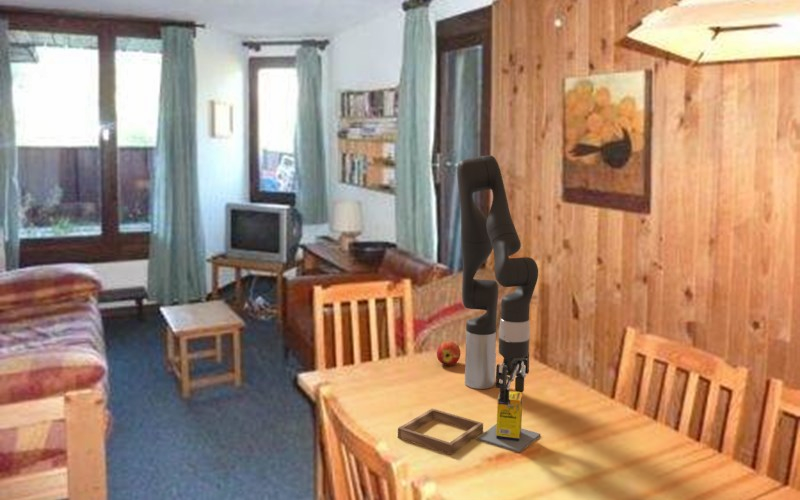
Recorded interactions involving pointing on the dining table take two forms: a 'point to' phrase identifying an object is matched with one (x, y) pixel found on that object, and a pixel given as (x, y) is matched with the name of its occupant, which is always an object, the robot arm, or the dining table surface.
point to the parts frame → (437, 444)
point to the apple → (448, 353)
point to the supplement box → (509, 417)
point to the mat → (512, 445)
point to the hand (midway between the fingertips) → (511, 396)
